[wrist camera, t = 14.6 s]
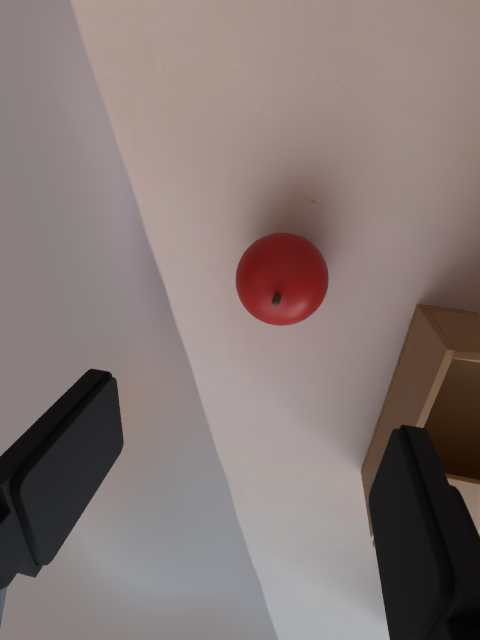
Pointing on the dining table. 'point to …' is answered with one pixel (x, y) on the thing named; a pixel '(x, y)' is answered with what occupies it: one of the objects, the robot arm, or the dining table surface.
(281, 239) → the apple
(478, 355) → the flap
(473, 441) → the cardboard box
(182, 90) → the dining table surface
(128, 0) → the dining table surface
